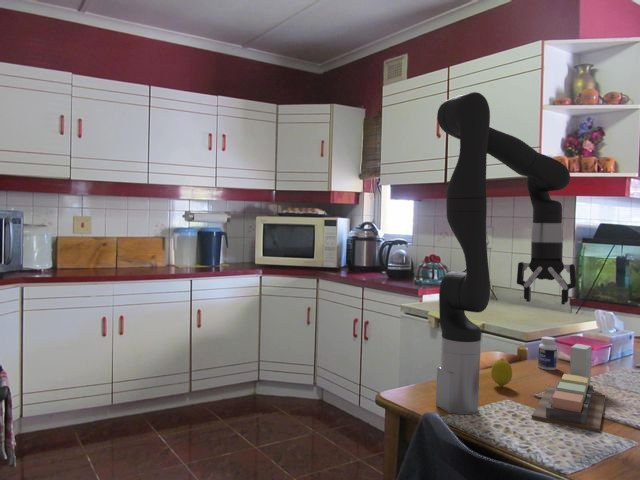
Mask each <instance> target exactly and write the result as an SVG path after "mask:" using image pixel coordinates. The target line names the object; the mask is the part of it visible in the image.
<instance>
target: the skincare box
mask: <svg viewBox="0 0 640 480" xmlns="http://www.w3.org/2000/svg"><path fill="white" fill-rule="evenodd" d="M592 347H593V346H591V345H587V344H583V343H582V344H581V343H575V344H574V345H572V346H570V355H569V357H570V358H569V361H570V362H569V374H570V375H576V376H583V377H589V380H588V385H591V380H592V377H591V376H592V375H591V374H592V373H591V372H592V350H593V349H592Z"/></svg>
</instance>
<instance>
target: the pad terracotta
mask: <svg viewBox="0 0 640 480" xmlns="http://www.w3.org/2000/svg"><path fill="white" fill-rule="evenodd" d="M552 407H553V408H558V409H563V410H569V411H574V412H580V413H581V412H582V408H583V395H578V394H573V393H567V392H561V391H555V393H554V395H553V397H552Z"/></svg>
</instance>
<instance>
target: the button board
mask: <svg viewBox="0 0 640 480" xmlns="http://www.w3.org/2000/svg"><path fill="white" fill-rule="evenodd" d="M560 382H561V380H560V379H559V381H558V383H557V384H556V386H554V385H547V387H546V389H545V391H544V393H543V394H542V396H541V398H540V400H539V402H538V403H537V405H536V407H535V408H534V411H533V412H532V415H531V419H532V420H537V421H542V422H545V423H546V422H547V423H552V424H557V425H561V426H567V427H571V428H576V429H582V430H587V431H593V432H597V433H600V431H601V424H602V419H603V415H604V414H603V412H604V408H605V407H604V406H605V401H606V394H600V393H596V392H595V393H594V385H591V384H590V385H588V391H587V392H586V398H585V401H584V402H583V408H582V412H581V413H580V412H574V411H569V410H563V409H558V408H553V407H552V397H553V395H554V393H555V391H557V387H558V385H559V383H560Z"/></svg>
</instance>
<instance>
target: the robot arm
mask: <svg viewBox="0 0 640 480" xmlns="http://www.w3.org/2000/svg"><path fill="white" fill-rule="evenodd" d="M490 111H491V110H490V106H489V103H488V100H487V98H486V97H485V96H484V95H483V94H482V93H480V92H477V91H476V92H475V91H474V92H468V93H465V94H461V95H457V96H454V97H451V98H448V99H445V101H444V102H442V103H441V104H440V105H439V108H438V109H437V115H436V117H437V123H438V126H439V127H440V129H441V130H442V131H443V132H444V133H445V134H447V135H449V136H451V137H453V138H455V139H456V140H457V139H458V140H459V155H458V159H457V163H456V165H455V168H454V170H453V172H452V174H451V177H450V179H449V182H448V186H447V189H446V194H445V195H446V204H445V205H446V207H445V208H446V219H447V223H448V225H449V227H450V229H451V231H452V233H453V235H454V236H455V238H456V240H457V242H458V244H459V245H460V247H461V249H462V252H463V255H464V260H465V270H466V272H463V271H449V272H446V273H445V274H444V275H443V276H442V279H441V281H440V284H439V290H438V291H439V293H438V296H439V298H438V303H439V306H438V307H439V311H438V312H439V325H440V329H441V348H440V351H441V352H440V366H438V367H437V368H436V387H435V388H436V391H435V393H436V394H435V406H436V407H438V408H440V409H442V410H443V411H445V412H447V413H448V414H459V415H472V414H475V413H477V412H479V397H480V393H479V392H480V371H481V369H480V368H481V365H480V364H481V347H482V346H481V343H482V331H481V327H479V325H477V324H475V323H474V322H472V321H471V320H470V319H469V318H468V317H467V314H466V313H465V312H469V313H482V312H483V311H485V310H486V309H487V307H488V305H489V301H490V297H491V282H490V281H491V280H490V271H489V261H488V260H489V259H488V250H487V249H488V246H487V215H488V214H487V207H488V206H487V203H488V200H487V199H488V198H487V159H488V158H487V156H488V155H489V156H491V157H492V158H494V159H496V160H498V162H500V163H502V164H503V165H505V166H506V167H508V168H509V169H510V170H512V171H513V172H515V173H516V174H518V175H520V176H522V177H526V187H527V190H528V195H529V199H530V202H531V205H532V227H531V234H530V235H531V236H530V237H531V239H530V241H531V242H530V244H531V246H530V247H531V249H530V262H529V263H528V262H525V261H519V262H518V264H517V274H516V284H517V285H520V286H522V287H523V298H524V300H526V302H528V303H529V302H532V301H531V299H532V298H531V297H532V296H531V295H532V290H531V289H532V287H531V285H532V284H533V283H534V282H535V281H536V280H537V279H538V280H547V281H553V280H555V281H556V282H557V283H558V284H559V286H561V288H562V289H561V305H566V303H568V302H569V290H570V289H575V287H577V283H578V281H577V266H576V264H574V263H572V264H564V262H563V249H564V248H563V243H564V242H563V241H564V235H563V234H564V230H563V224H562V223H563V205H562V203H561V202H560V201H558V200H554V199H551V196H550V194H549V192H556V191H561V190H563V189H565V188H566V187H567V186H568V185H569V184H570V182H571V173H570V171H569V168H568V167H567V166H566V165H565V164H564V163H563V162H561V161H559V160H557V159H555V158H553V157H551V156H548V155H545V154H543V153H540V152H539V151H537V150H535V149H534V148H533V147H531V146H530V145H529V144H528V143H526V142H525V141H523V140H522V139H520V138H518V137H516V136H513V135H511V134H510V133H509V134H508V133H505V132H503V131H500V130H497V129H495V128H492V127H490V125H491V123H490V122H491V112H490ZM487 154H488V155H487ZM527 269H530V271H531V273H532V274H531V275H530V276H529V277H528V279H527V280H526V281H525V280H524V277H525V271H527ZM564 269H565V270H566V272H567V273H568V274H569V283H568V282H567V281H566V280H565V279H564V277H563V276H562V274H561V273H562V272H563V271H564Z"/></svg>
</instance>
